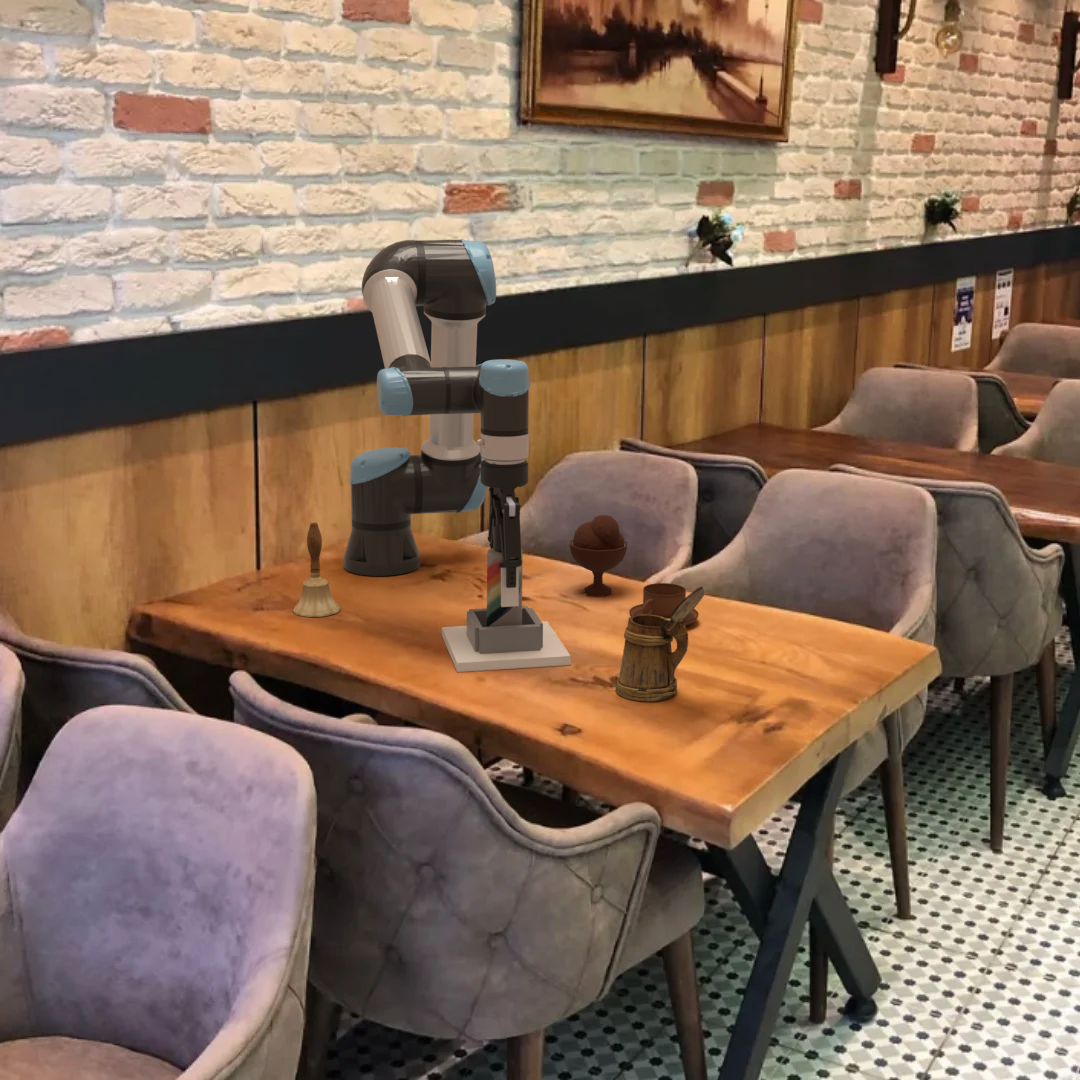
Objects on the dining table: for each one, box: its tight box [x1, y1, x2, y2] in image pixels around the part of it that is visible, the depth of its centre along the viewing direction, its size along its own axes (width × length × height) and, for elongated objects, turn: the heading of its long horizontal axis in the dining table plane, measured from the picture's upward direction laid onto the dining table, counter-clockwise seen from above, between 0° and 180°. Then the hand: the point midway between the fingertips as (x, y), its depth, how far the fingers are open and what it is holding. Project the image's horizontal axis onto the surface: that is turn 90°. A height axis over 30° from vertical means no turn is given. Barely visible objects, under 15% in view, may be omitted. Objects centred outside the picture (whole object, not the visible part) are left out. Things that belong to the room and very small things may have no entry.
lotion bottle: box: [486, 522, 524, 627], centre depth 211 cm, size 6×6×20 cm
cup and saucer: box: [628, 582, 699, 627], centre depth 229 cm, size 12×12×6 cm
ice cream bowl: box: [569, 514, 629, 597], centre depth 245 cm, size 11×11×15 cm
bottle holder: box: [441, 605, 572, 673], centre depth 214 cm, size 18×18×6 cm
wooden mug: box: [614, 586, 705, 703], centre depth 193 cm, size 9×14×18 cm, turn 52°
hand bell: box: [293, 522, 341, 618], centre depth 232 cm, size 8×8×16 cm
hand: (504, 596), depth 212 cm, fingers open, 9 cm apart
